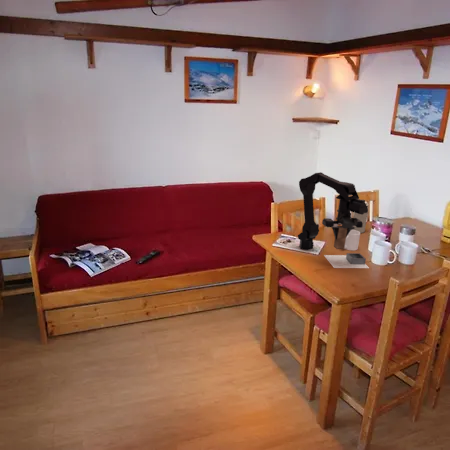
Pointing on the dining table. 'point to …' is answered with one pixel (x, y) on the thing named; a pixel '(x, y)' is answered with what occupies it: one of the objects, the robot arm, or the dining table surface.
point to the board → (342, 262)
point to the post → (340, 238)
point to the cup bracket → (355, 258)
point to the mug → (352, 240)
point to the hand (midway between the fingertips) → (340, 239)
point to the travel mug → (361, 218)
